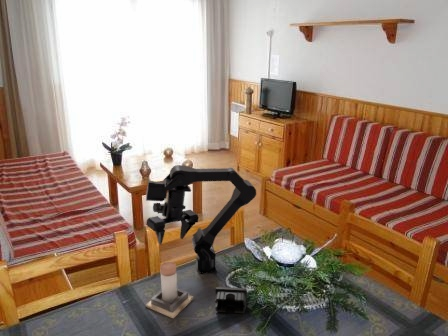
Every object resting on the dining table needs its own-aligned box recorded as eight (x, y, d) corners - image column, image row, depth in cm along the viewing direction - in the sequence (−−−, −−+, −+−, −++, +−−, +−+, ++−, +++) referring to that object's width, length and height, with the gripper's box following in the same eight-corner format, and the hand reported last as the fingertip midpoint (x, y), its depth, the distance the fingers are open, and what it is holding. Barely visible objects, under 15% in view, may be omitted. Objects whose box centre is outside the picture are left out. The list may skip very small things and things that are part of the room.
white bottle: (170, 293, 127) (168, 260, 123) (180, 300, 124) (179, 265, 120) (159, 301, 124) (156, 266, 120) (169, 307, 121) (167, 272, 116)
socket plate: (167, 288, 131) (166, 281, 130) (193, 298, 126) (193, 291, 125) (146, 306, 122) (145, 299, 121) (173, 318, 117) (173, 311, 116)
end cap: (246, 301, 125) (247, 284, 123) (246, 316, 118) (246, 298, 116) (216, 300, 125) (216, 282, 123) (214, 314, 119) (214, 296, 117)
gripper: (184, 190, 143) (179, 227, 148) (140, 196, 131) (136, 236, 136) (202, 201, 136) (196, 239, 140) (157, 209, 123) (152, 251, 128)
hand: (170, 241), depth 136 cm, fingers open, 9 cm apart
